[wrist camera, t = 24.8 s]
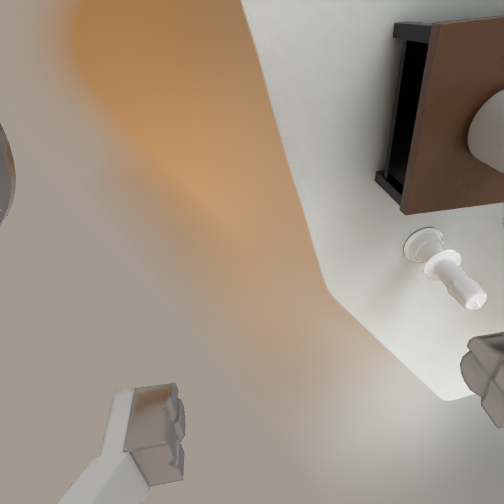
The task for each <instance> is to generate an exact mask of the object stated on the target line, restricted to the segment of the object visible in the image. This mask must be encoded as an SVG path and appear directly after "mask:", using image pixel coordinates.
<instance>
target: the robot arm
mask: <svg viewBox="0 0 504 504" xmlns="http://www.w3.org/2000/svg"><path fill="white" fill-rule="evenodd" d="M467 347H468V348H469V350H470V351H469V352H468V353H466V354H465V355H464V356H463V357H462V360H461V363H460V367H461V374H462V376H463V379H464V381H465V383H466V384H467V386H468V387H469V389H470V390H471V391H473V392H474V393H476V394H478V395H479V396H481V406H482V407H483V409H484V410H485V411H486V413H487V414H488V416H489V417H490V418H491V420H492V421H493V423H494V424H495V426H496V427H497V428H504V332H500V333H494V334H489V335H483V336H477V337H473V338H472V339H470V340H469V342H468V345H467ZM184 413H185V412H184V407H183V403H182V400H180V399H179V398H178V389H177V386H176V384H175V383H170V384H163V385H156V386H148V387H141V388H132V389H125V390H119V391H116V393H115V395H114V397H113V400H112V404H111V408H110V413H109V417H108V422H107V426H106V430H105V435H104V438H103V443H102V447H101V451H100V456H96V457H93V458H92V459H91V461H90V462H89V463H88V464H87V466H86V467H85V468H84V469H83V471H82V472H81V473H80V474H79V476H78V477H77V478H76V479H75V481H74V482H73V483H72V485H71V486H70V487H69V488H68V490H67V491H66V492H65V493H64V495H63V496H62V497H61V498H60V500H59V501H58V502H57V503H56V504H142V503H143V501H144V499H145V497H146V495H147V494H148V492H149V490H150V486H155V485H160V484H165V483H171V482H176V481H181V480H183V469H184V451H183V448H182V445H181V443H180V442H181V441H182V439H183V438H184V436H185V414H184Z"/></svg>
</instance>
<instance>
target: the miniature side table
mask: <svg viewBox="0 0 504 504" xmlns="http://www.w3.org/2000/svg"><path fill="white" fill-rule="evenodd" d="M393 38H397V39H403V42H402V49H401V57H400V64H399V71H398V78H397V85H396V93H395V100H394V107H393V114H392V121H391V129H390V136H389V143H388V150H387V157H386V165H385V170H384V171H376V178H375V181H376V182H377V183H378V184H379V185H380V186H381V187H382V188H383V189H384V190H385V191H386V192H387V193H388V194H389V195H390V196H391V197H392V198H393V199H394V200H395V201H396V202H397V204H398V205H399V206H400V211H401V212H402V213H403V214H404V215H411V214H418V213H426V212H433V211H441V210H449V209H456V208H464V207H471V206H479V205H486V204H494V203H501V202H504V174H503V173H502V172H500V171H498V170H496V169H494V168H493V167H491V166H489V165H487V164H486V163H484V162H482V161H480V160H478V159H477V158H476V157H474V156H473V154H472V153H471V151H470V149H469V146H468V132H469V128H470V125H471V123H472V121H473V119H474V117H475V115H476V114H477V112H478V111H479V109H480V108H481V107H482V106H483V105H484V104H485V103H486V102H487V101H488V100H489V99H490V98H491V97H492V96H494V95H495V94H497V93H498V92H500V91H502V90H504V15H503V16H493V17H484V18H475V19H465V20H456V21H447V22H437V23H420V22H398V23H395V25H394V33H393ZM403 185H404V186H403Z"/></svg>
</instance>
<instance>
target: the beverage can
mask: <svg viewBox="0 0 504 504" xmlns="http://www.w3.org/2000/svg"><path fill="white" fill-rule="evenodd" d="M468 146H469V149H470V151H471V153H472V154H473V156H474V157H476V158H477V159H478V160H480V161H482V162H484V163H486V164H487V165H489V166H491V167H493V168H494V169H496V170H498V171H500V172H502V173H503V174H504V90H502V91H500V92H498V93H497V94H495V95H494V96H492V97H491V98H490V99H489V100H488V101H487V102H486V103H485V104H484V105H483V106H482V107H481V108H480V109H479V111H478V112H477V114H476V115H475V117H474V119H473V121H472V123H471V125H470V128H469V132H468Z"/></svg>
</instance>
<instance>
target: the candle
mask: <svg viewBox="0 0 504 504" xmlns="http://www.w3.org/2000/svg"><path fill="white" fill-rule="evenodd" d="M442 250H443V235H442V233H441V232H440V231H439V230H438V229H435V228H425V229H421V230H419V231H417V232H415V233H414V234H413V235H411V236H410V237H409V239H408V240H407V241H406V243H405V246H404V255H405V256H406V258H407V259H409V260H411V261H418V262H421V263H426V264H425V266H424V269H423V272H424V275H425V277H426V278H427V279H429V280H441V281H442V282H443V284H444V285H445V286H446V287H447V289H448V293H449V294H450V295H452V296H453V297H454V298H455V299H456V300H457V301H458V302H459V303H460V304H461V306H463V307H464V308H466V309H469V310H478V309H479V308H480V307H481V306H482V305H483V304H484V303H485V301H486V299H487V295H486V293H485V292H484V291H483V290H482V289H481V288H480V286H479V284H478V283H477V282H476V281H474V280H472V279H470V278H469V277H468V276H467V274H466V273H465V272H464V271H463V270H462V269H461V268H460V267H459V266H460V263H461V256H460V254H459V253H458V252H457V251H455V250H444V251H442Z"/></svg>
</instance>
